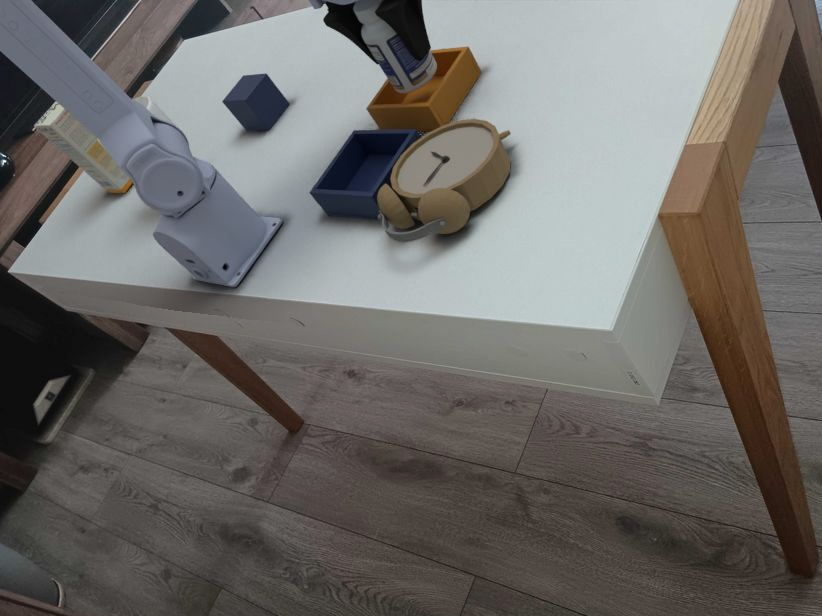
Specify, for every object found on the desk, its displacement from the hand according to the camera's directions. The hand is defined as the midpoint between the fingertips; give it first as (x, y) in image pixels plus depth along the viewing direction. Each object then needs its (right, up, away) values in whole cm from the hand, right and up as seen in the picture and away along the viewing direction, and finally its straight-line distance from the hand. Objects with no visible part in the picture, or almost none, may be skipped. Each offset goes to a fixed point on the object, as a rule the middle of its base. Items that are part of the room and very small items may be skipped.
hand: (403, 56), depth 80 cm
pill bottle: (+1, -2, +2) cm, 3 cm away
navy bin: (-3, -14, 0) cm, 14 cm away
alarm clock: (+5, -17, -7) cm, 19 cm away
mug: (-29, -10, +19) cm, 36 cm away
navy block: (-20, 0, +21) cm, 29 cm away
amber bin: (+3, -3, +4) cm, 6 cm away
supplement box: (-42, -6, +30) cm, 52 cm away
